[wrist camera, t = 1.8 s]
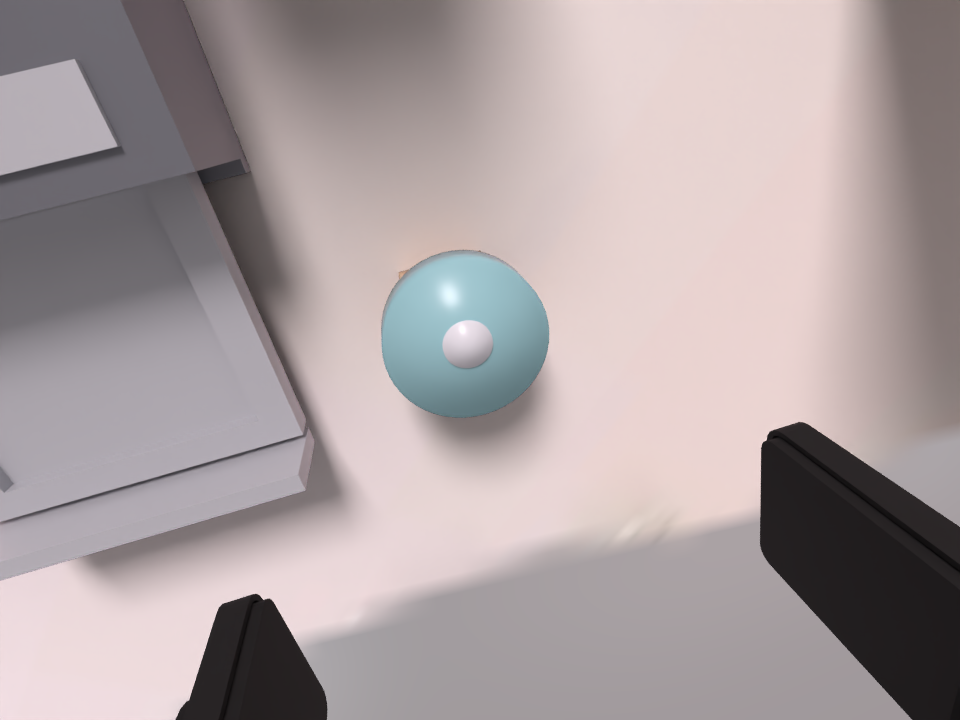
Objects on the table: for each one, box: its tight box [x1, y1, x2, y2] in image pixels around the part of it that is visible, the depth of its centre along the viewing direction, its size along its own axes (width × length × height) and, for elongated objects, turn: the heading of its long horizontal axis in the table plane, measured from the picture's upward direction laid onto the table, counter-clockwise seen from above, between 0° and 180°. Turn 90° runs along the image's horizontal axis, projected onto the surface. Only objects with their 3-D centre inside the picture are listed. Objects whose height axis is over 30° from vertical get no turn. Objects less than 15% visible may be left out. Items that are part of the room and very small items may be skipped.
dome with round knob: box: [381, 250, 549, 418], centre depth 19 cm, size 6×6×2 cm
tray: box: [0, 171, 315, 581], centre depth 18 cm, size 13×15×4 cm
